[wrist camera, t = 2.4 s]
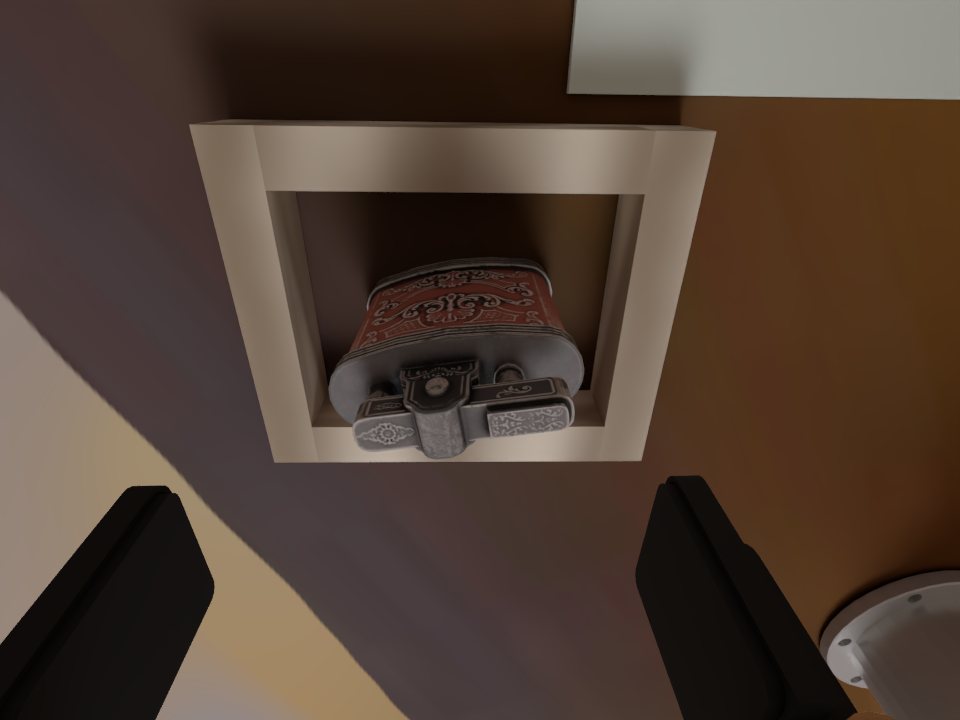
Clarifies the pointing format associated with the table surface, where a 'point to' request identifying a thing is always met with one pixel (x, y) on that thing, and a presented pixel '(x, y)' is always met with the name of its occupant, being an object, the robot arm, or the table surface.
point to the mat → (767, 48)
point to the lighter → (458, 359)
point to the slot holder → (459, 169)
